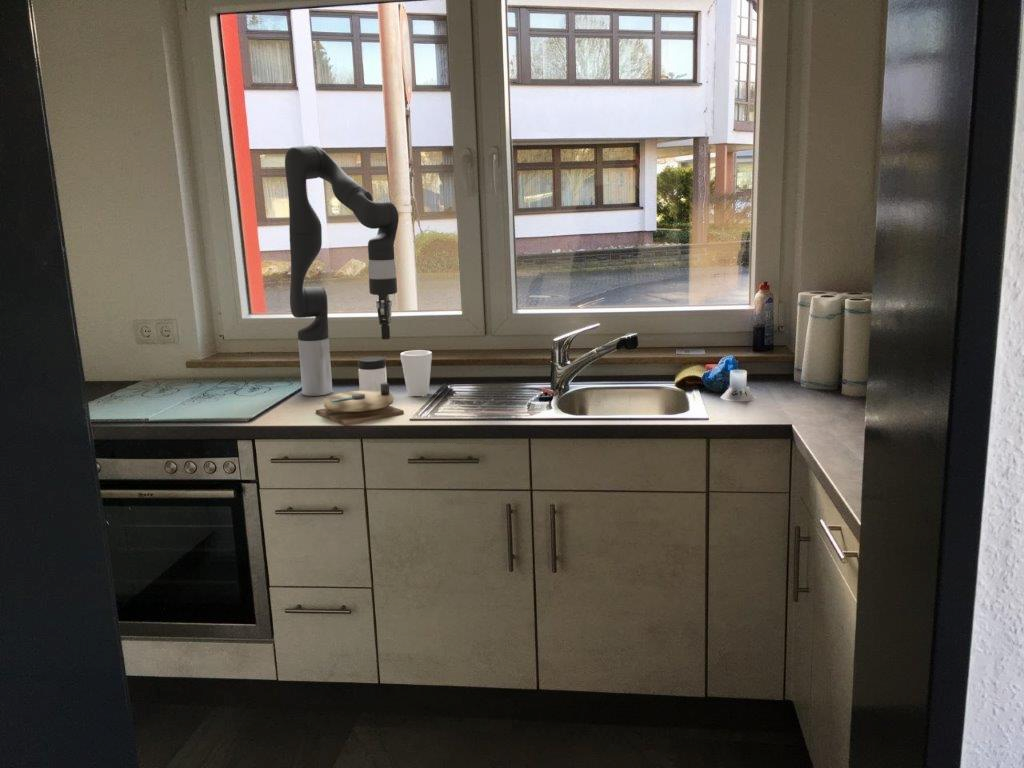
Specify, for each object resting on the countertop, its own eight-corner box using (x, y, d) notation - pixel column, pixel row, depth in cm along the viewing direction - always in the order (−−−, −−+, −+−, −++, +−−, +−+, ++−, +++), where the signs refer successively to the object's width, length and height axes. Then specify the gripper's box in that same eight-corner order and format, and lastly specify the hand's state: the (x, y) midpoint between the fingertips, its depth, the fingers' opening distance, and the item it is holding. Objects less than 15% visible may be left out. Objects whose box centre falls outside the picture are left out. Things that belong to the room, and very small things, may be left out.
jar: (365, 402, 247) (363, 362, 244) (355, 397, 254) (352, 358, 251) (393, 397, 252) (391, 358, 249) (381, 393, 258) (379, 355, 256)
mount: (315, 413, 235) (315, 404, 234) (372, 402, 246) (371, 394, 245) (345, 425, 221) (344, 415, 220) (403, 413, 232) (403, 404, 231)
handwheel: (337, 415, 220) (336, 398, 219) (315, 401, 236) (314, 386, 235) (403, 405, 229) (402, 389, 229) (378, 392, 246) (377, 377, 245)
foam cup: (431, 397, 251) (429, 355, 248) (400, 398, 251) (398, 356, 248) (434, 390, 260) (432, 349, 257) (405, 391, 260) (403, 350, 257)
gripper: (394, 278, 221) (397, 342, 225) (398, 273, 234) (401, 334, 238) (366, 279, 221) (369, 343, 224) (371, 274, 233) (374, 335, 237)
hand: (386, 338), depth 231 cm, fingers closed
